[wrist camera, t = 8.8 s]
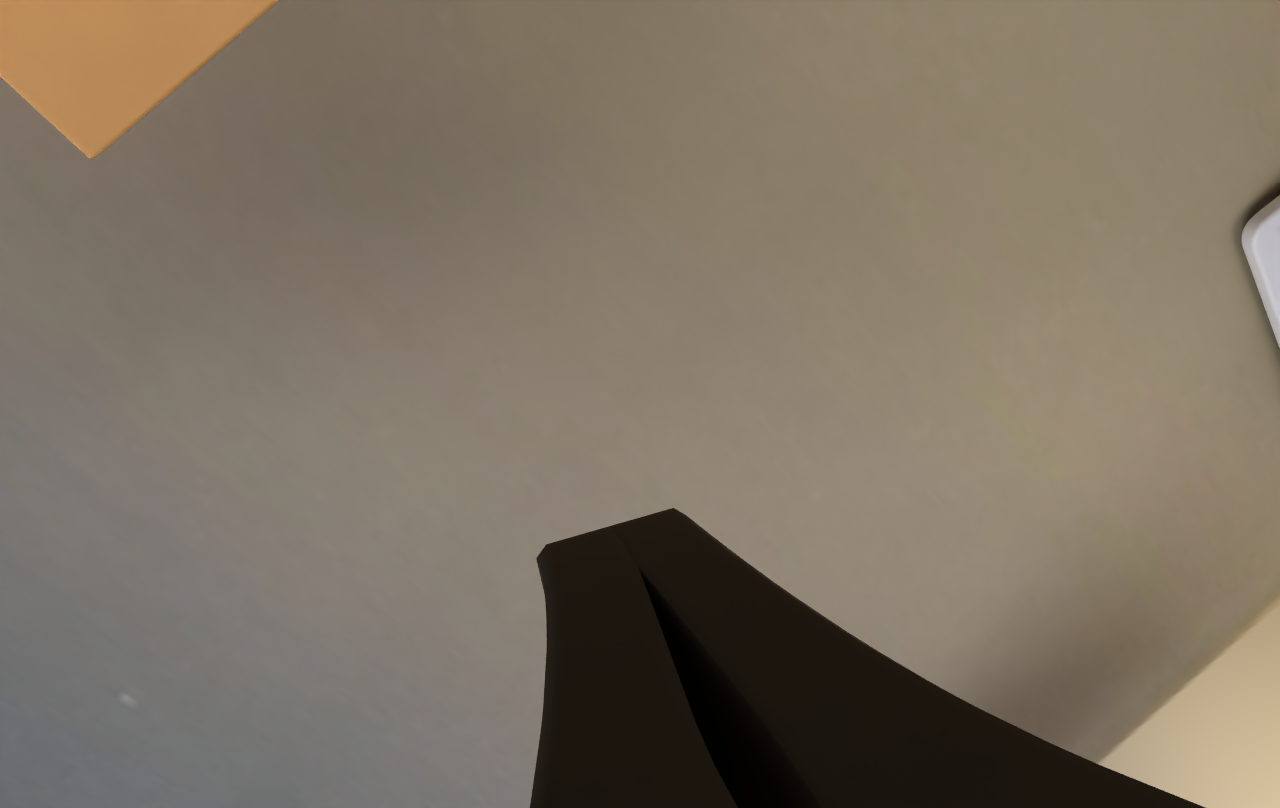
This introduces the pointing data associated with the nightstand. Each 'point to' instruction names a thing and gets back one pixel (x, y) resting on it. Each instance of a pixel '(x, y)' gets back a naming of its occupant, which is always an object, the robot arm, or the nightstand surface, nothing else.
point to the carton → (111, 57)
